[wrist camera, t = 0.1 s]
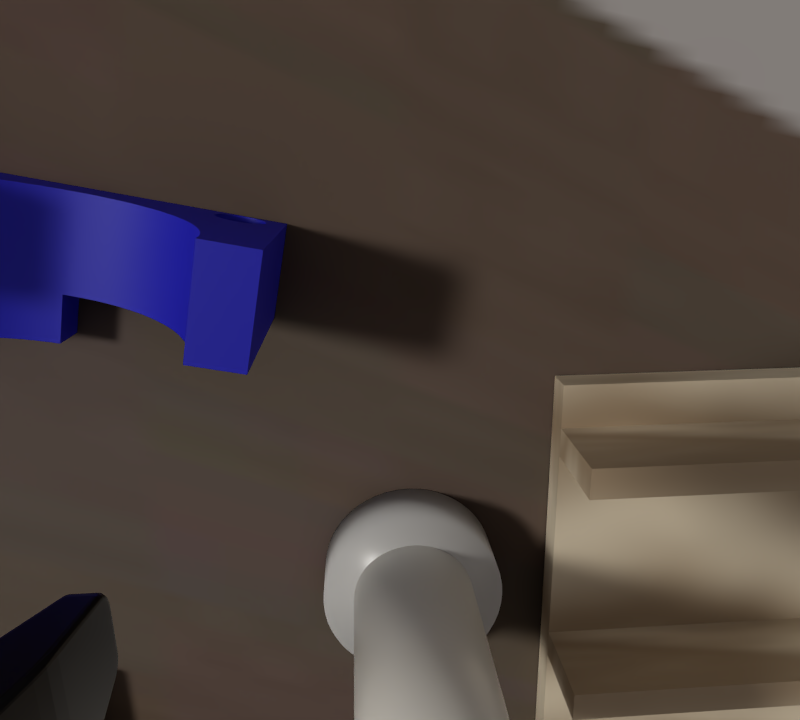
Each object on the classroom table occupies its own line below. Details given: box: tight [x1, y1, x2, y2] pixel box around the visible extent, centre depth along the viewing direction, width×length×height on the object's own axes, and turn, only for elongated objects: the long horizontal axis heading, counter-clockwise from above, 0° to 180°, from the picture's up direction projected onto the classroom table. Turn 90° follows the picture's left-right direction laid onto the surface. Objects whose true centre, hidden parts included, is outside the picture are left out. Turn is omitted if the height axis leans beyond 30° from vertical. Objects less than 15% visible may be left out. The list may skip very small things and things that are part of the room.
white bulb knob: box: [324, 489, 509, 720], centre depth 18 cm, size 6×6×14 cm
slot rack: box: [536, 367, 800, 720], centre depth 24 cm, size 20×12×4 cm, turn 1°
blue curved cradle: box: [0, 173, 287, 375], centre depth 18 cm, size 12×4×6 cm, turn 80°
